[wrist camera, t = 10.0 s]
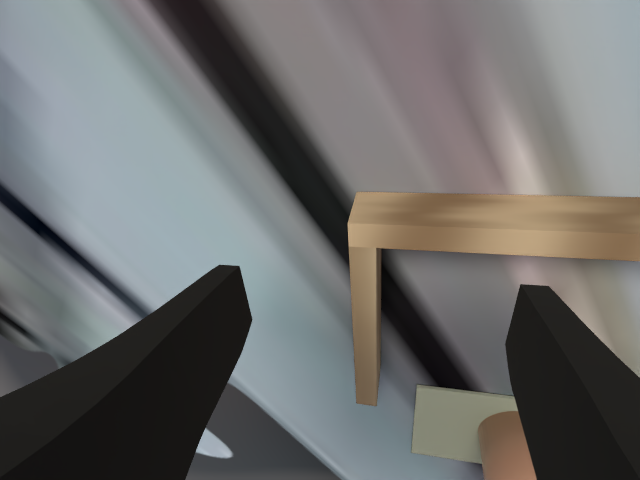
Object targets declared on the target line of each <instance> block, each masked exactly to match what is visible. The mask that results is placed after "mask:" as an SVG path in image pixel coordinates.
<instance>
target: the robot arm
mask: <svg viewBox="0 0 640 480" xmlns="http://www.w3.org/2000/svg"><path fill="white" fill-rule="evenodd" d="M251 322H252V316H251V312H250V308H249V304H248V300H247V295H246V291H245V287H244V283H243V279H242V275H241V270H240V266H230V265H218V266H217V267H215V268H214V269H212V270H211V271H209V272H208V273H207V274H205V275H204V276H202V277H201V278H200V279H198V280H197V281H196V282H194V283H193V284H191V285H190V286H189V287H187V288H186V289H185V290H183V291H182V292H181V293H179V294H178V295H176V296H175V297H174V298H172V299H171V300H170V301H168V302H167V303H165V304H164V305H163V306H161V307H160V308H159V309H157V310H156V311H154V312H153V313H151V314H150V315H148V316H147V317H145V318H144V319H142V320H141V321H139V322H138V323H136V324H135V325H133V326H132V327H130V328H129V329H127V330H126V331H124V332H123V333H121V334H120V335H118V336H117V337H115V338H113V339H112V340H110V341H109V342H107V343H105V344H104V345H102V346H100V347H98V348H97V349H95V350H93V351H91V352H90V353H88V354H86V355H84V356H83V357H81V358H79V359H77V360H76V361H74V362H72V363H70V364H68V365H66V366H64V367H62V368H60V369H58V370H56V371H54V372H52V373H50V374H48V375H46V376H44V377H42V378H40V379H38V380H36V381H34V382H32V383H30V384H28V385H26V386H24V387H22V388H20V389H18V390H15V391H13V392H11V393H9V394H6V395H4V396H2V397H0V480H185V479H186V476H187V473H188V470H189V468H190V465H191V462H192V460H193V457H194V454H195V452H196V449H197V446H198V444H199V441H200V439H201V437H202V434H203V432H204V430H205V428H206V425H207V423H208V421H209V419H210V417H211V415H212V413H213V411H214V409H215V407H216V405H217V403H218V401H219V398H220V396H221V394H222V392H223V390H224V388H225V386H226V384H227V382H228V380H229V378H230V376H231V374H232V372H233V370H234V368H235V365H236V363H237V361H238V359H239V357H240V355H241V353H242V350H243V347H244V344H245V341H246V338H247V335H248V332H249V329H250V326H251ZM505 346H506V353H507V361H508V369H509V375H510V382H511V386H512V390H513V394H514V398H515V402H516V405H517V409H518V413H519V416H520V420H521V424H522V427H523V431H524V435H525V438H526V442H527V446H528V449H529V453H530V456H531V460H532V464H533V467H534V471H535V475H536V478H537V480H640V378H639V377H638V376H637V375H636V374H635V373H634V372H633V371H632V370H631V369H630V368H628V367H627V366H626V365H625V364H624V363H623V362H622V361H621V360H620V359H619V358H618V357H617V356H616V355H615V354H614V353H613V352H612V351H611V350H610V349H609V348H608V347H607V346H606V345H605V344H604V343H603V342H602V341H601V340H600V339H599V338H598V337H597V336H596V335H595V334H594V333H593V332H592V331H591V330H590V329H589V328H588V327H587V326H586V325H585V324H584V323H583V322H582V321H581V320H580V319H579V318H578V317H577V315H576V314H575V313H574V312H573V311H572V310H571V309H570V308H569V307H568V306H567V305H566V304H565V303H564V302H563V301H562V300H561V298H560V297H559V296H558V295H557V294H556V293H555V292H554V291H553V290H552V289H551V288H550V287H549V286H538V285H522V284H520V288H519V292H518V296H517V300H516V304H515V308H514V312H513V316H512V320H511V324H510V328H509V331H508V335H507V339H506V343H505Z"/></svg>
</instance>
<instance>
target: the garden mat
mask: <svg viewBox="0 0 640 480" xmlns="http://www.w3.org/2000/svg"><path fill="white" fill-rule="evenodd" d="M507 411H518V409H517V405H516V402H515V398H514V396H507V395H498V394H490V393H482V392H474V391H466V390H457V389H449V388H441V387H433V386H425V385H417V390H416V402H415V413H414V425H413V437H412V449H411V453H416V454H423V455H429V456H435V457H442V458H448V459H454V460H460V461H467V462H473V463H479V464H482V460H481V452H480V445H479V437H478V427H479V425H480V423H481V422H482V421H483V420H484V419H486V418H487V417H489V416H491V415H494V414H497V413H501V412H507Z"/></svg>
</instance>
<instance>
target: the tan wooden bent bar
mask: <svg viewBox="0 0 640 480" xmlns="http://www.w3.org/2000/svg"><path fill="white" fill-rule="evenodd" d="M348 239H349V259H350V280H351V300H352V321H353V342H354V362H355V383H356V403H357V404H364V405H372V406H377V397H378V387H379V377H380V366H381V248H387V249H407V250H427V251H447V252H467V253H486V254H506V255H526V256H546V257H566V258H586V259H606V260H626V261H640V197H591V196H540V195H489V194H439V193H388V192H357V193H356V196H355V200H354V203H353V207H352V210H351V214H350V217H349V221H348Z"/></svg>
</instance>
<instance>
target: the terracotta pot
mask: <svg viewBox="0 0 640 480" xmlns="http://www.w3.org/2000/svg"><path fill="white" fill-rule="evenodd" d="M478 437H479V445H480V452H481V460H482V468H483V476H484V480H537V478H536V475H535V471H534V467H533V464H532V460H531V456H530V453H529V449H528V446H527V442H526V438H525V435H524V431H523V427H522V424H521V420H520V416H519V413H518V411H507V412H501V413H497V414H494V415H491V416H489V417H487V418H486V419H484V420H483V421H482V422H481V423H480V425H479V427H478Z"/></svg>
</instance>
